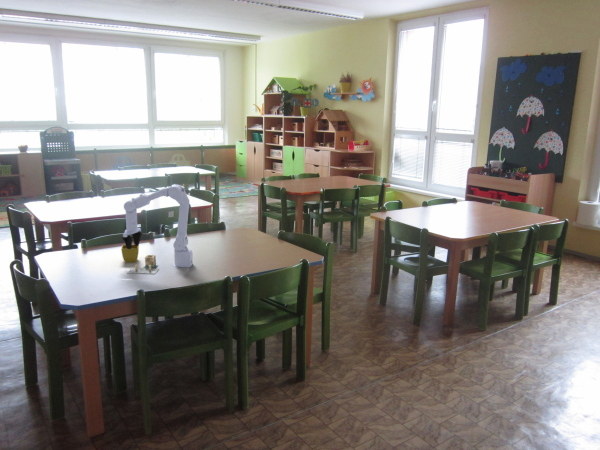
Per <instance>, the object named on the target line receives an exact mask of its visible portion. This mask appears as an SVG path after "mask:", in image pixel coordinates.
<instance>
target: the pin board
mask: <svg viewBox="0 0 600 450" xmlns="http://www.w3.org/2000/svg"><path fill="white" fill-rule="evenodd" d="M159 270H160V269H159V268H156V269H151V265H149V268H143V267H142V268H141V267H138V264H135V265H134V267H131V268H130V270H129V271H127V274H129V275H130V274H131V275H133V274H134V275H155V274H156V273H157V272H158V271H159Z"/></svg>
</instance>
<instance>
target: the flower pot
mask: <svg viewBox="0 0 600 450" xmlns="http://www.w3.org/2000/svg"><path fill="white" fill-rule="evenodd" d="M139 245H140V244H139ZM139 245H138V246H136V245H134V244H133V243H132V247H131V249H127V247H126V244H122V245H121V248H120V249H121V256H122V260H123V261H124V262H125V263H127V264H128V263H137V260H138V257H139V248H140V246H139Z"/></svg>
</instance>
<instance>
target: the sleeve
mask: <svg viewBox="0 0 600 450" xmlns="http://www.w3.org/2000/svg"><path fill="white" fill-rule="evenodd" d="M156 258H157V255H156V254H146V256H145V257H144V263H145V265H144V267H145V268H149V265H151V268H154V267H155V266H156V265H157V259H156Z"/></svg>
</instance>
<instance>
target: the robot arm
mask: <svg viewBox="0 0 600 450" xmlns="http://www.w3.org/2000/svg"><path fill="white" fill-rule="evenodd" d="M162 197H165V198H166V197H167V198H168V197H170V198H171V199H172V200H175V201H176V202H177V203H178V204H179V210H178V220H177V232H176V236H175V240H174V242H173V244H172V245H173V248H174V249H173V251H174V253H173V254H174V255H173V256H174V264H173V265H172V267H179V268H181V267H183V268H191V267H192V265H193V264H194V263H193V261H194V260H193V250H192V249H189V247H188V244H189V239H188V234H187V231H188V222H189V221H188V220H189V211H190V199H189V198H190V197H188V195H187V192H186V189H185V188H184V187H182V185H180V184H174V185H173V186H172V185H169V186H167V187H163V188H162V189H159V190H157V191H155V192H152V193H151V194H142V193H141V194H139V196H137V197H135V198H134V197H132V198H131V199H129V200H128V201H126V202H125V203H123V209H124V210H125V226H126V229H125V230H124V232H123V233H122V236H121V239H122V240H123V242H124V245H126V247H127V249H131V247H132V245H133V243H134V245H136V246H138V245H140V241H141V237H142V236H143V231H142V227H139V226H138V214H137V213H138V212H137V209H142V208H143V207H145V206H148V205H150V204H151V203H150V202H152V201H153V200H156V199H159V198H162ZM132 242H133V243H132Z"/></svg>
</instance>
